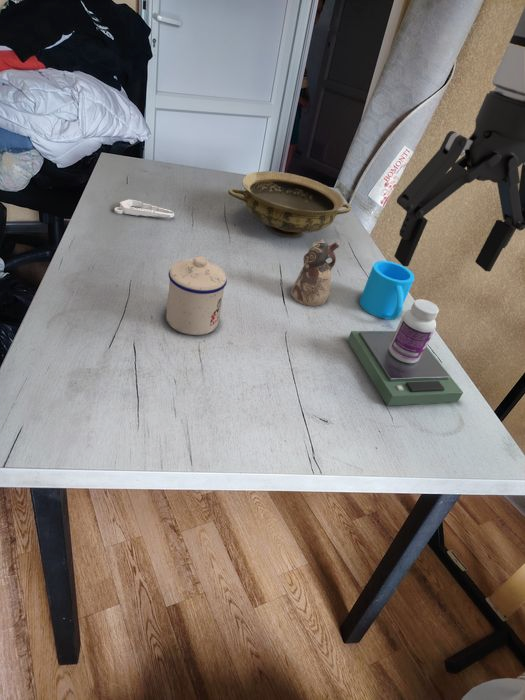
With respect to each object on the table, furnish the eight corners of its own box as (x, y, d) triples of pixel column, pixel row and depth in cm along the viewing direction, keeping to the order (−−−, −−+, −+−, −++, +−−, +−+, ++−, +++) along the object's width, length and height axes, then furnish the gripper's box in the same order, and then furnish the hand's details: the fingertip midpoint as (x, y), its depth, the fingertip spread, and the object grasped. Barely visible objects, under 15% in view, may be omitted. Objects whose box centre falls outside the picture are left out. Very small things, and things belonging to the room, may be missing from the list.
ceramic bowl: (330, 216, 129) (341, 180, 123) (355, 259, 111) (369, 219, 105) (220, 201, 123) (226, 161, 117) (226, 244, 104) (234, 200, 98)
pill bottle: (423, 366, 78) (448, 318, 72) (392, 362, 77) (415, 313, 71) (414, 346, 82) (437, 299, 76) (385, 341, 81) (406, 293, 75)
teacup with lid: (221, 339, 77) (232, 277, 70) (164, 335, 75) (169, 270, 68) (216, 298, 87) (225, 239, 80) (165, 294, 85) (170, 233, 77)
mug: (355, 293, 98) (368, 258, 93) (391, 298, 100) (406, 263, 95) (370, 328, 89) (385, 291, 84) (410, 332, 91) (428, 296, 86)
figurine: (291, 283, 96) (306, 228, 89) (325, 290, 97) (343, 236, 90) (291, 302, 91) (306, 245, 83) (327, 309, 91) (346, 253, 84)
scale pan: (448, 379, 77) (449, 376, 77) (389, 381, 74) (390, 378, 73) (412, 334, 86) (413, 331, 86) (358, 334, 83) (359, 331, 82)
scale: (457, 402, 77) (464, 390, 75) (387, 406, 73) (393, 393, 71) (409, 340, 88) (415, 328, 87) (347, 340, 84) (352, 328, 83)
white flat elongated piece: (174, 213, 112) (175, 206, 111) (173, 222, 108) (173, 214, 107) (117, 203, 110) (117, 196, 108) (113, 212, 106) (113, 205, 105)
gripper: (580, 106, 60) (497, 256, 73) (412, 70, 53) (352, 245, 65) (628, 122, 55) (530, 282, 68) (448, 84, 47) (375, 273, 60)
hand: (442, 264), depth 66 cm, fingers open, 13 cm apart
